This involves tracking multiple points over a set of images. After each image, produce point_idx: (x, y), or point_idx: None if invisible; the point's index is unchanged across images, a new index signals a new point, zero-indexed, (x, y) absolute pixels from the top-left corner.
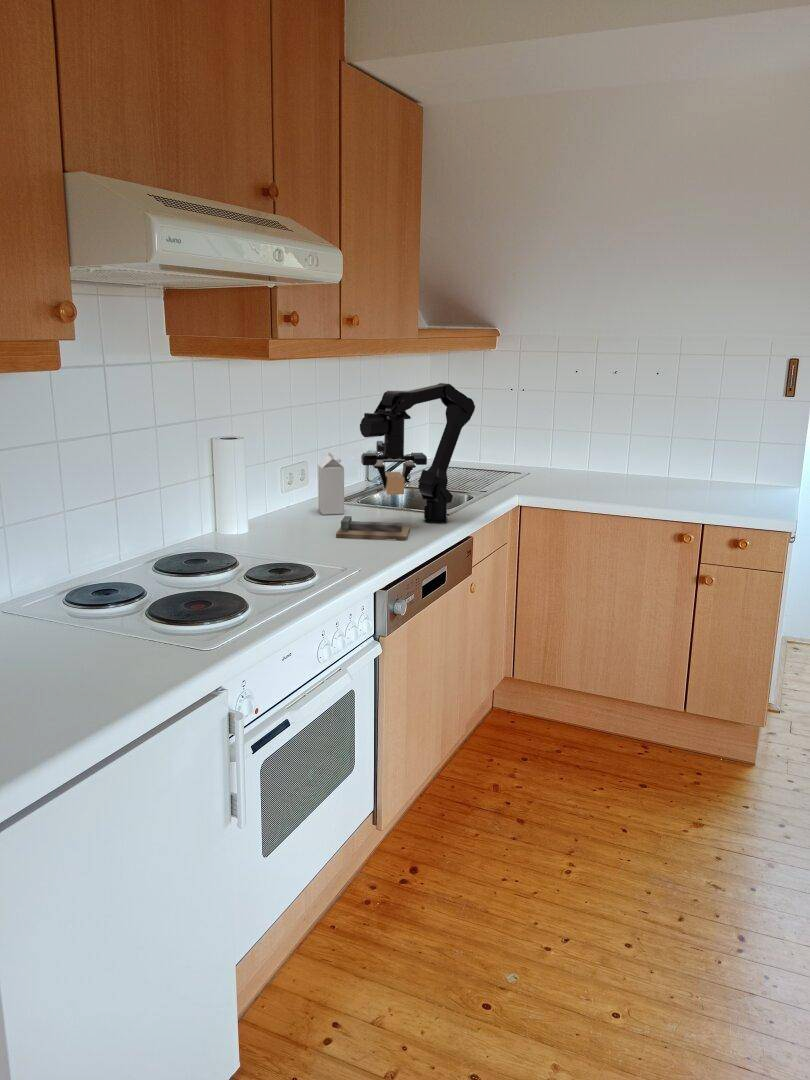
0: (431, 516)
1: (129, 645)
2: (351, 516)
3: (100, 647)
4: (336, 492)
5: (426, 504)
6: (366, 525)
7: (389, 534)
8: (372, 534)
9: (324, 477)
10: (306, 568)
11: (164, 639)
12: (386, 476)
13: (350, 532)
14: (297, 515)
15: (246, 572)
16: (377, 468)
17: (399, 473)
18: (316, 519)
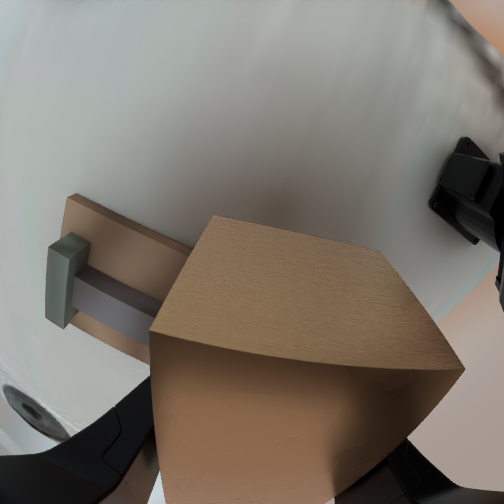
0: (458, 215)
1: (16, 448)
2: (69, 261)
3: (7, 441)
4: None
5: (480, 207)
6: (126, 332)
7: None
8: (148, 359)
9: None
10: (56, 422)
11: (27, 453)
12: (163, 490)
13: (87, 317)
14: (15, 10)
15: (5, 396)
16: (35, 462)
17: (375, 451)
18: (34, 54)
